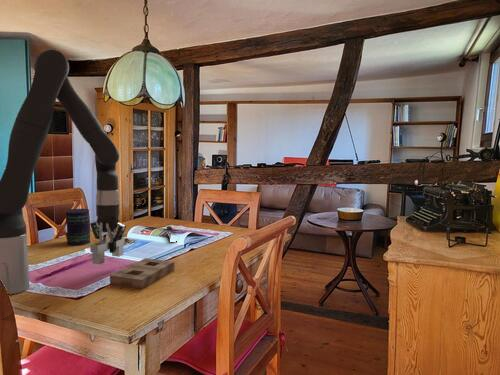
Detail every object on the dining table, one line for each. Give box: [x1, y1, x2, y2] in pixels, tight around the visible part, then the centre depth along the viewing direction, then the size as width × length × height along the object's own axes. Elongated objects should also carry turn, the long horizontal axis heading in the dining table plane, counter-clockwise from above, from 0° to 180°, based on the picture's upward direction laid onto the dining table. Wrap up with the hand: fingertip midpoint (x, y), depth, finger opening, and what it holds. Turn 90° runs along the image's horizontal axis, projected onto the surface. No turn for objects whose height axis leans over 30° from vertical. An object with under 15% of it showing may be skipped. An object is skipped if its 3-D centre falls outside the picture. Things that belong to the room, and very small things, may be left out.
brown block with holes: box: [109, 257, 175, 290], centre depth 133 cm, size 20×12×3 cm, turn 161°
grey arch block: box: [89, 236, 126, 265], centre depth 136 cm, size 14×3×6 cm, turn 161°
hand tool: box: [166, 225, 174, 232], centre depth 187 cm, size 19×4×5 cm, turn 17°
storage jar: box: [65, 208, 91, 247], centre depth 175 cm, size 10×10×15 cm
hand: (108, 251), depth 136 cm, fingers closed on grey arch block, 3 cm apart
